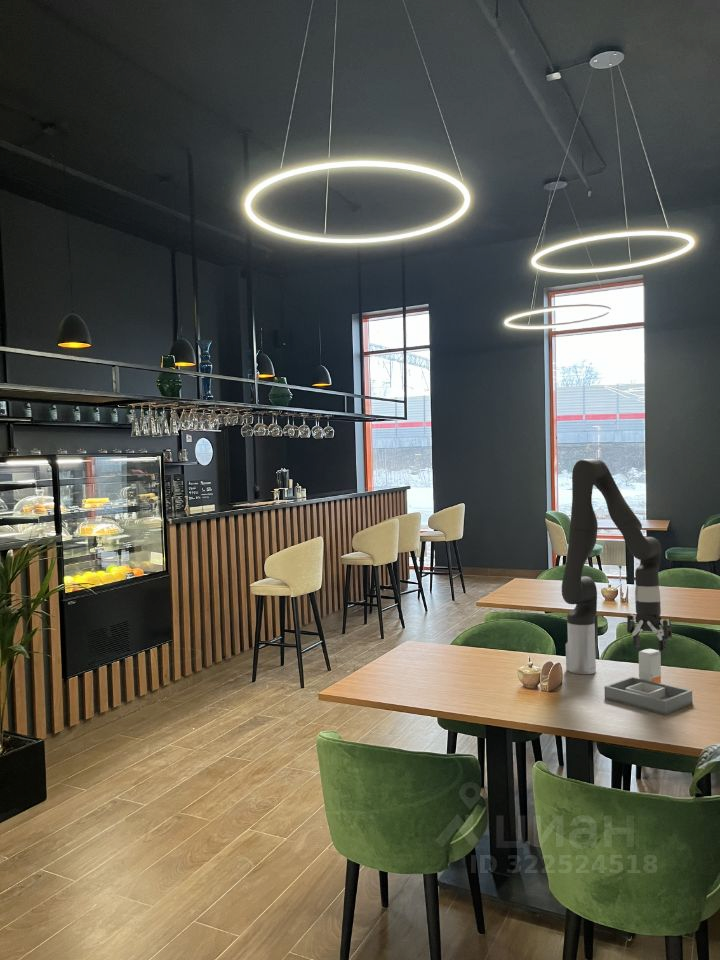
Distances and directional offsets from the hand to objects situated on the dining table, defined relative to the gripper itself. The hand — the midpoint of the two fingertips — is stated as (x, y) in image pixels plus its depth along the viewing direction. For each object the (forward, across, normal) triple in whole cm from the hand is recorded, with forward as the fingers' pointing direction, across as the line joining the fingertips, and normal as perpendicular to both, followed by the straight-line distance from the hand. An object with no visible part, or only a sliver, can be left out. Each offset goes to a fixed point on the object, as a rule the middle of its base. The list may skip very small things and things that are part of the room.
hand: (649, 649), depth 232 cm
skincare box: (+13, 0, 0) cm, 13 cm away
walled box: (+13, +7, -13) cm, 19 cm away
